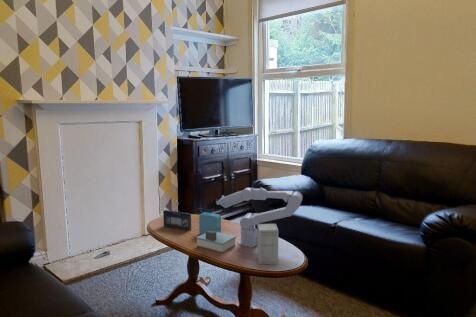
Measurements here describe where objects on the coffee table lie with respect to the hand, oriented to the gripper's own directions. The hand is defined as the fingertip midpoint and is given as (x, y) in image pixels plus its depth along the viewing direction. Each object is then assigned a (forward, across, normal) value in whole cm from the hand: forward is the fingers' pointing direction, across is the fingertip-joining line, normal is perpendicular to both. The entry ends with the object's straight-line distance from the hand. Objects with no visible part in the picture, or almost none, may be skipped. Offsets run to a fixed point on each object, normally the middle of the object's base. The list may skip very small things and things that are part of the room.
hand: (210, 207), depth 205 cm
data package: (+10, -11, +13) cm, 20 cm away
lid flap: (0, +3, +17) cm, 17 cm away
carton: (+2, +2, +20) cm, 21 cm away
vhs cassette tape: (+31, -13, +2) cm, 34 cm away
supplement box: (-25, +8, +35) cm, 44 cm away
